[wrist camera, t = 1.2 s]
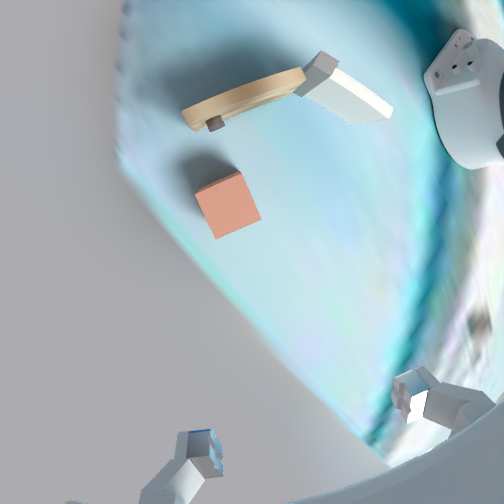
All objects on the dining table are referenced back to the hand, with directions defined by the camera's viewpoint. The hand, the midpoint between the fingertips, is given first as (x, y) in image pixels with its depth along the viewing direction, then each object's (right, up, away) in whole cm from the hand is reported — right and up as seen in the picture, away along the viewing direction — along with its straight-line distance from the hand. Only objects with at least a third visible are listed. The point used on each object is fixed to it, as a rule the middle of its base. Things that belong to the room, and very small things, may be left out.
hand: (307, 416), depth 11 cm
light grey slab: (+5, +23, +16) cm, 28 cm away
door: (-3, +21, +16) cm, 26 cm away
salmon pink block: (-5, +12, +19) cm, 23 cm away
